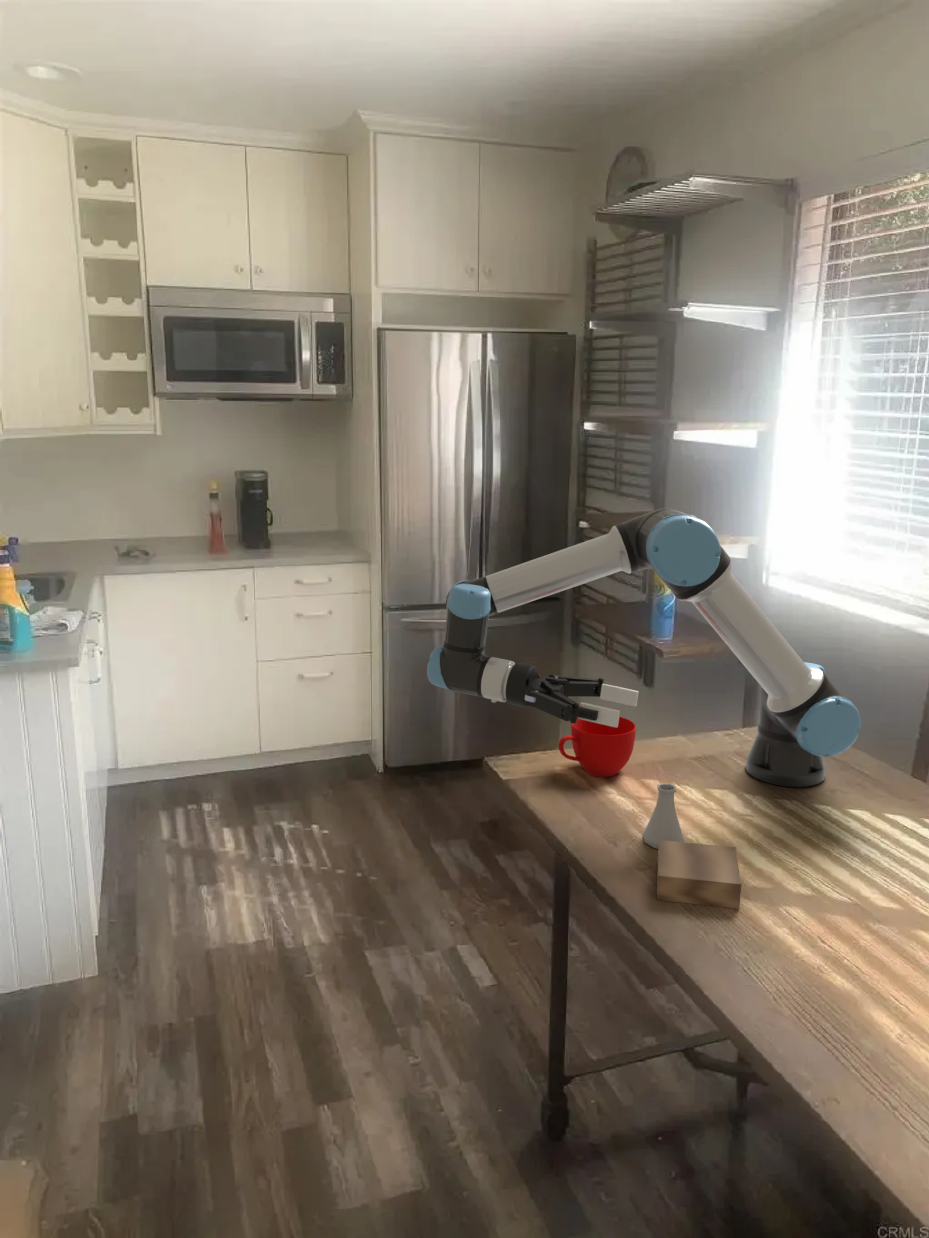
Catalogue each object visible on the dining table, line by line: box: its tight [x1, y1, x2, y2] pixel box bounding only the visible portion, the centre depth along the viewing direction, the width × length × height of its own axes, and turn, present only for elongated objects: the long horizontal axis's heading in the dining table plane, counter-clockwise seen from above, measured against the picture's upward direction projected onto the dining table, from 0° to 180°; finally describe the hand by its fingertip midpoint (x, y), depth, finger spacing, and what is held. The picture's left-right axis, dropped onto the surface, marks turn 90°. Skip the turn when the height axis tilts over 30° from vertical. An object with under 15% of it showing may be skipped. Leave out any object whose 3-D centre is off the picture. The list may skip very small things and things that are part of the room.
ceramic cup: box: [558, 716, 637, 778], centre depth 186 cm, size 13×17×10 cm
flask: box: [642, 782, 685, 849], centre depth 156 cm, size 7×7×10 cm
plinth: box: [656, 840, 742, 910], centre depth 143 cm, size 12×12×4 cm
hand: (628, 708), depth 155 cm, fingers open, 13 cm apart
